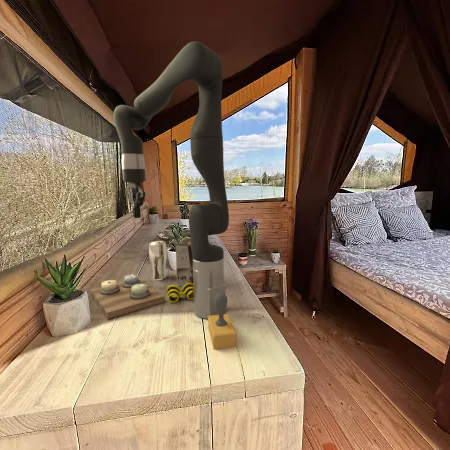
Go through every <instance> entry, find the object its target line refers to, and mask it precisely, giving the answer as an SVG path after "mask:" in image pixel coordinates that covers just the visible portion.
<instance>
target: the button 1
mask: <svg viewBox="0 0 450 450" xmlns="http://www.w3.org/2000/svg"><path fill="white" fill-rule="evenodd" d="M117 283H118V281H117V280H115V279H108V280H103V281H102V282H101V286H100V287H102V290H103V291H111V290H114V289H116V288H117Z"/></svg>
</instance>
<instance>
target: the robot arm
mask: <svg viewBox="0 0 450 450" xmlns="http://www.w3.org/2000/svg"><path fill="white" fill-rule="evenodd" d="M188 81H190V82H192V83H194V84H196V85H197V87H198V93H199V94H198V97H199V99H198V100H199V102H198V103H199V106H198V110H197V114H196V116H195V119H194V120H193V122H192V123H193V124H192V125H191V129H190V132H189V133H190V135H189V137H190V138H189V142H190V144H189V145H190V155H191V159H192V163H193V165H194V166H195V168H196V170H197V171H198V173H199V174H200V176H201V178H202V179H203V180H204V183H205V184H206V187H207V189H208V195H209V203H201V204H193V206H191V208H190V210H189V211H188V212H189V213H188V229H189V241H190V242H191V249H192V255H193V284H194V299H193V303H194V305H193V309H194V314H195V316H196V317H198V318H201V319H204V320H205V319H207V320H208V317H209V316H212V315H218V312H217V310H216V308H215V305H214V299H215V296H216V295H217V294H218V293H224V294H225V295H226V296H227V285H226V284H225V268H224V267H225V265H224V264H225V263H224V262H225V257H224V255H225V254H224V252H225V251H224V248H223V247H222V246H219V245H217V244H213V243H212V244H211V243H210V241H209V236H214V235H220V234H224V233H225V232H226V231H227V230H228V228H229V224H230V213H229V203H228V197H227V191H226V182H225V181H226V180H225V167H224V166H225V163H224V137H223V135H224V134H223V118H222V117H223V116H222V115H223V113H222V112H223V111H222V96H223V95H222V92H223V63H222V60H221V57H220V56H219V54H218V53H217V52H215V51H214V50H212V49H211V48H210V47H208V46H207V45H206V44H204V43H202V42H200V41H198V40H197V41H196V40H194V41H189V42H188V43H187V44H186V45H185V46H183V47H182V48H181V50H180V51H179V52H178V53H177V54H176V55H175V57H174V58H173V59H172V60H171V62H170V63H168V65H167V67H166V68H165V69H164V70H163V71H162V73H161V74H160V76H158V78H157V79H156V80H155V81H154V82H153V83H152V84H151V85H150V86H149V87H147V88H146V89H145V90H144V91H143V92H141V93H140V94H139V95H138V96H137V97H135V99H134V102H133V106H129V105H125V104H120V105H119V104H118V105H117V106H116V107H115V109H114V111H113V123H114V125H115V129H116V132H117V134H118V139H119V141H120V144H121V145H120V149H121V170H122V172H121V173H122V181H123V183H128V185H127V186H128V187H127V191H126V192H125V193H126V197H127V200H128V202H129V205H130V206H131V208H132V216H133V218H134V219H140V218H141V216H142V215H141V214H142V212H141V208H142V206H144V203H145V198H146V191H143V186H142V183H145V182H146V180H147V178H146V165H145V158H144V157H145V156H144V144H143V140H142V137H139V136H137V135H135V134H134V132H133V130H134V131H140V130H142V129H144V128H146V127H147V125H148V124H149V122H150V121H151V120H152V118H153V117H154V116H155V115H156V114H158V113H160V112H162V110H163V109H165V108H166V106H168V105H169V103H170V100H171V99H172V96H173V93H174V92H175V89H177V88H178V86H181V85H182V84H183V83H185V82H188ZM224 314H227V309H226V310H225V312H224Z"/></svg>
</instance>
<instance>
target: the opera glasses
mask: <svg viewBox="0 0 450 450" xmlns="http://www.w3.org/2000/svg"><path fill="white" fill-rule="evenodd" d="M181 288H182V289H181ZM181 288H180V286H177V284H176V285H174V284H171V285H168V287H166V291H165V292H166V295H167V300H168V302H170V303H177V302H178V301H179V298H180V297H181V298H182V297H186V298H187V299H188V300H189V301H192V300H194V285H193V284H192V283H187V284H185V285H184V286H182V287H181Z"/></svg>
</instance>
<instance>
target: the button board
mask: <svg viewBox="0 0 450 450" xmlns="http://www.w3.org/2000/svg"><path fill="white" fill-rule="evenodd" d="M138 279H139V281H138V282H137V283H135V284H125V283H124V281H120V282H117V288H116V289H114V290H111V291H103V290H102V286H99V287H95V288H91V289H90V295H91V296H92V298H93V299H94V301H95V302H96V304H97V306H98V307H99V309H100V310H101V311H102V313H103V315H104V316H105V318H106V319H107V320H110V319H113V318H116V317H119V316H123V315H126V314H130V313H133V312H136V311H139V310H143V309H145V308H146V309H147V308H149V307H150V308H151V307H152V306H155V305H159V304H162V303H163V304H164V303H165V296H164V295H163V294H162V293H160V292H159V291H158V290H157V289H156V288H154V287H152V286H151V285H150V284H149V283H148V282H146V281H145V280H144V279H143V278H141V277H138ZM136 284H146V285H147V293H145V294H143V295H133V294H132V289H131V287H132V286H133V285H136Z"/></svg>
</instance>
